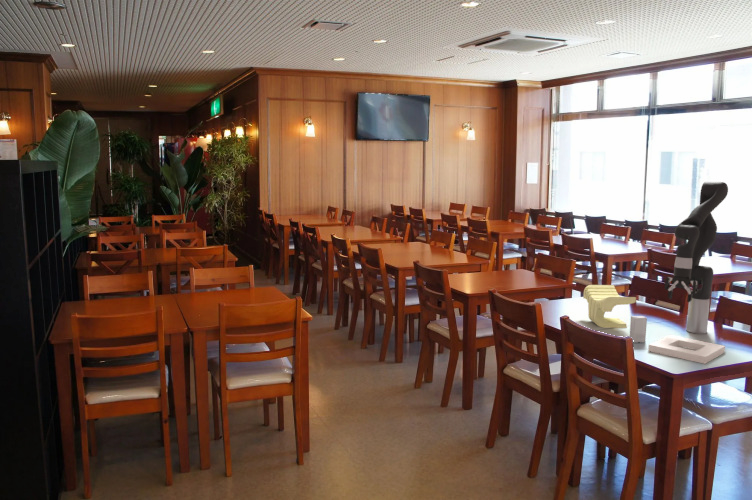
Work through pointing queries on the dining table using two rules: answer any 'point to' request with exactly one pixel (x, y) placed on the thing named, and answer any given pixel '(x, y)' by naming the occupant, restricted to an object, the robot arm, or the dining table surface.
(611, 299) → the slatted curved stool
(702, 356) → the white square frame
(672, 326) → the dining table surface
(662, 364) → the dining table surface
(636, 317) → the skincare box
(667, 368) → the dining table surface
